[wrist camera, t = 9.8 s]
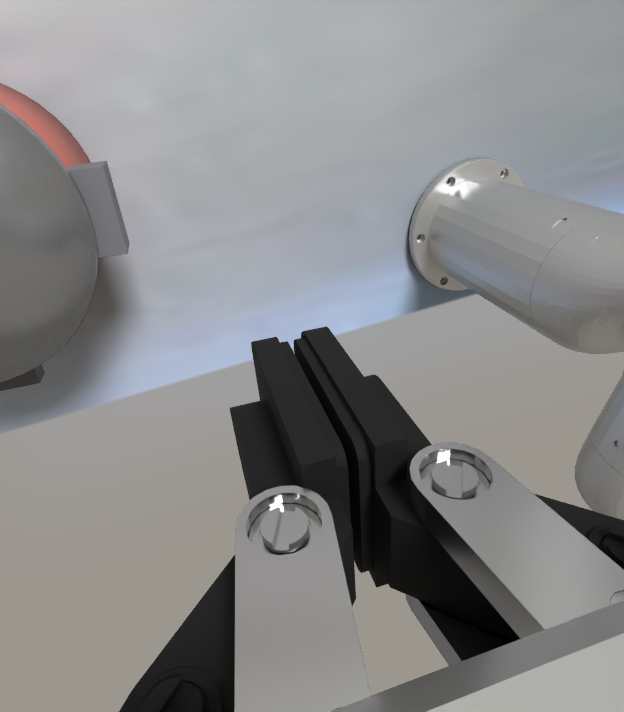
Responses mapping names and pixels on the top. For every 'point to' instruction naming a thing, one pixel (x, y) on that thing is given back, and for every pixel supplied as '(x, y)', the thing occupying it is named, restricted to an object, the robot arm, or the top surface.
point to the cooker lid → (40, 250)
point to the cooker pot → (89, 181)
